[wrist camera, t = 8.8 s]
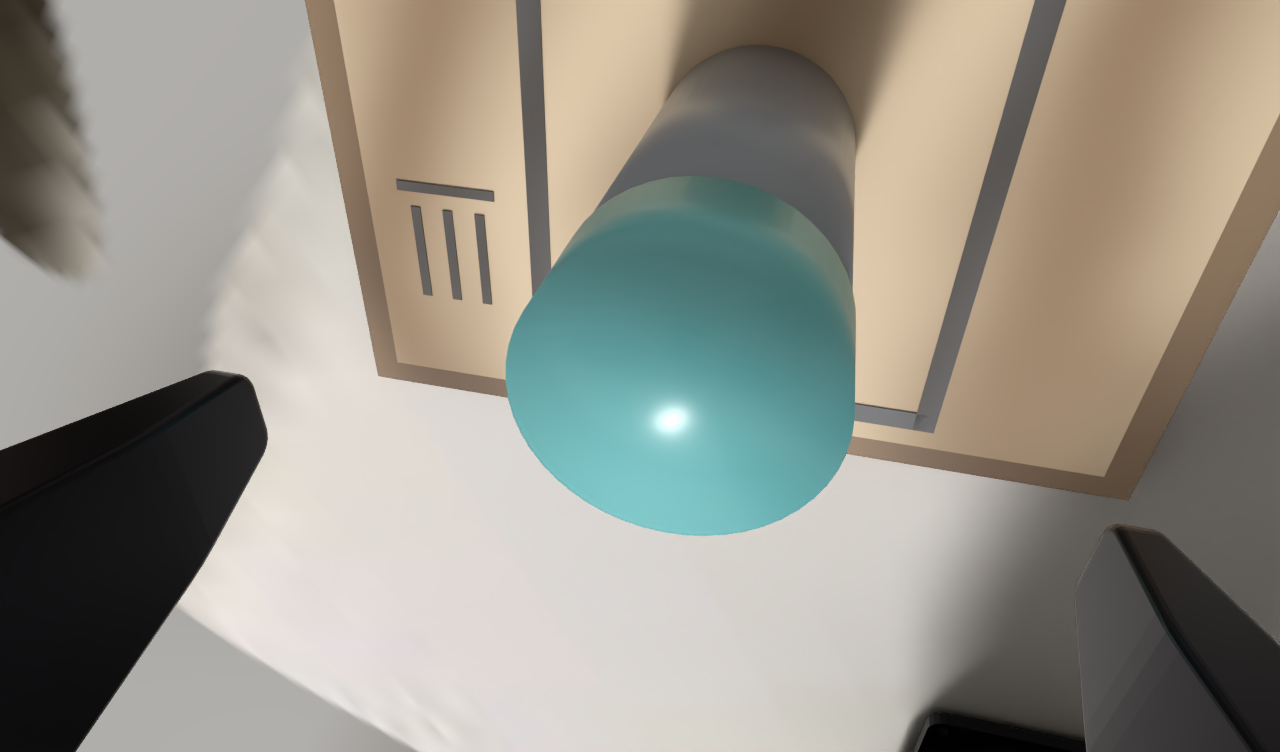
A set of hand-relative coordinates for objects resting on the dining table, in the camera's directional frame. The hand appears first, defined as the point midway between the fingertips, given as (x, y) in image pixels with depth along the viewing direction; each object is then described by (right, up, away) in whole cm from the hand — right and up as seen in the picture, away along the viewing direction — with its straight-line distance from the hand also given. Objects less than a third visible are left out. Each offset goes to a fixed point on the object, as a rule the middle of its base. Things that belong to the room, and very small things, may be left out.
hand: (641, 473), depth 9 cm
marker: (+2, +6, +8) cm, 10 cm away
